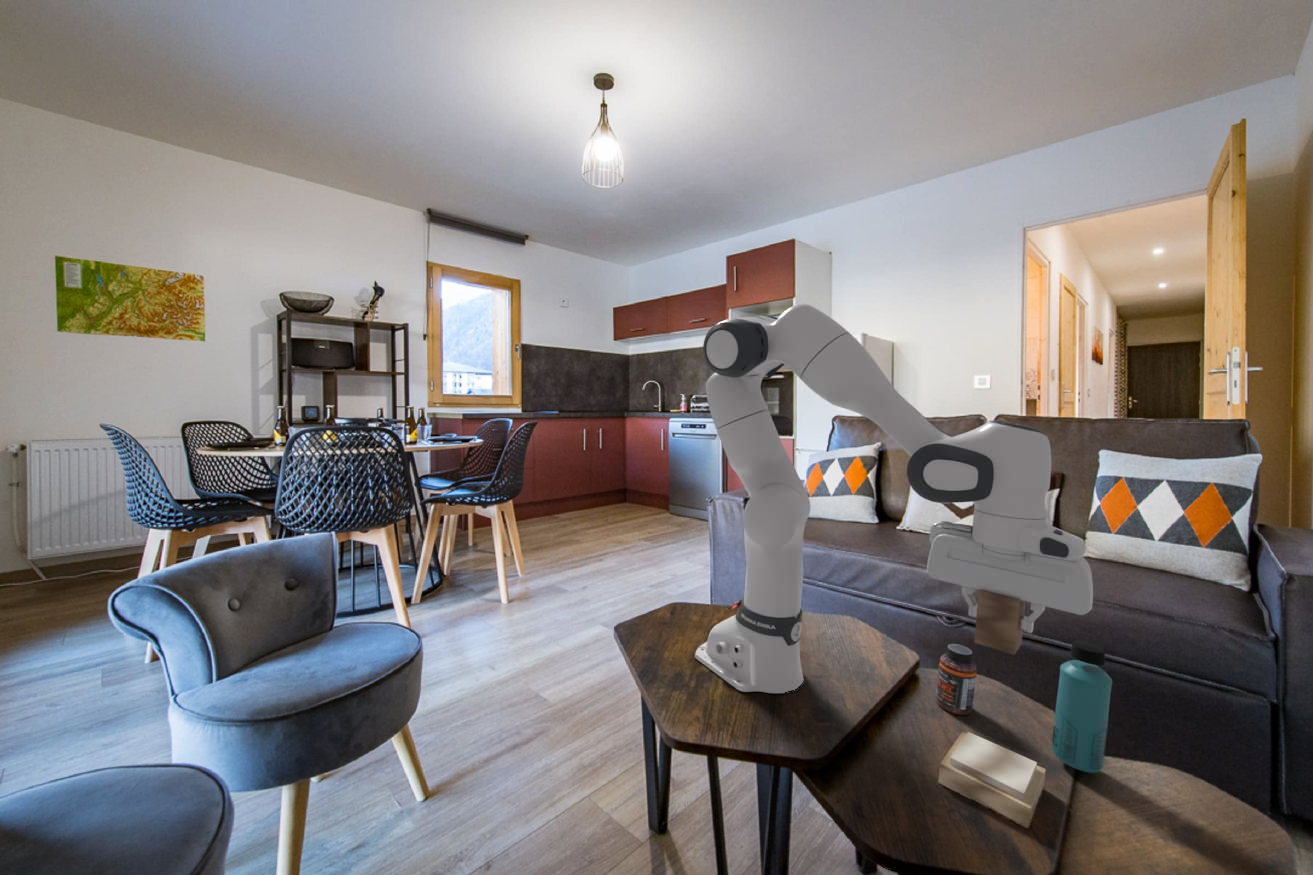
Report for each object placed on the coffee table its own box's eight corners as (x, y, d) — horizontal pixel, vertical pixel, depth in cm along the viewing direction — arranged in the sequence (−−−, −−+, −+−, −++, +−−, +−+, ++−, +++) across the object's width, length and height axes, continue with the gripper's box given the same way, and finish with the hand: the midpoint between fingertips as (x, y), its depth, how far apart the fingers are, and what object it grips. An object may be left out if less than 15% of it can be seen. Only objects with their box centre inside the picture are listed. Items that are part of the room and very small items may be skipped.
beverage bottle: (1112, 786, 77) (1129, 658, 75) (1062, 778, 78) (1078, 652, 76) (1085, 757, 83) (1100, 638, 81) (1039, 749, 84) (1053, 632, 83)
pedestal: (938, 782, 76) (940, 756, 75) (960, 749, 83) (962, 725, 83) (1028, 829, 68) (1031, 801, 68) (1043, 788, 76) (1046, 762, 75)
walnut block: (974, 642, 76) (978, 590, 76) (982, 632, 80) (987, 582, 79) (1014, 654, 73) (1019, 600, 72) (1021, 643, 76) (1026, 591, 76)
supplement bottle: (928, 700, 97) (933, 643, 96) (949, 694, 99) (954, 638, 98) (958, 719, 91) (964, 658, 90) (979, 712, 94) (985, 653, 93)
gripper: (924, 521, 80) (918, 607, 81) (1095, 551, 66) (1084, 655, 67) (937, 515, 85) (931, 597, 86) (1099, 543, 70) (1090, 640, 71)
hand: (999, 623), depth 76 cm, fingers closed on walnut block, 5 cm apart
